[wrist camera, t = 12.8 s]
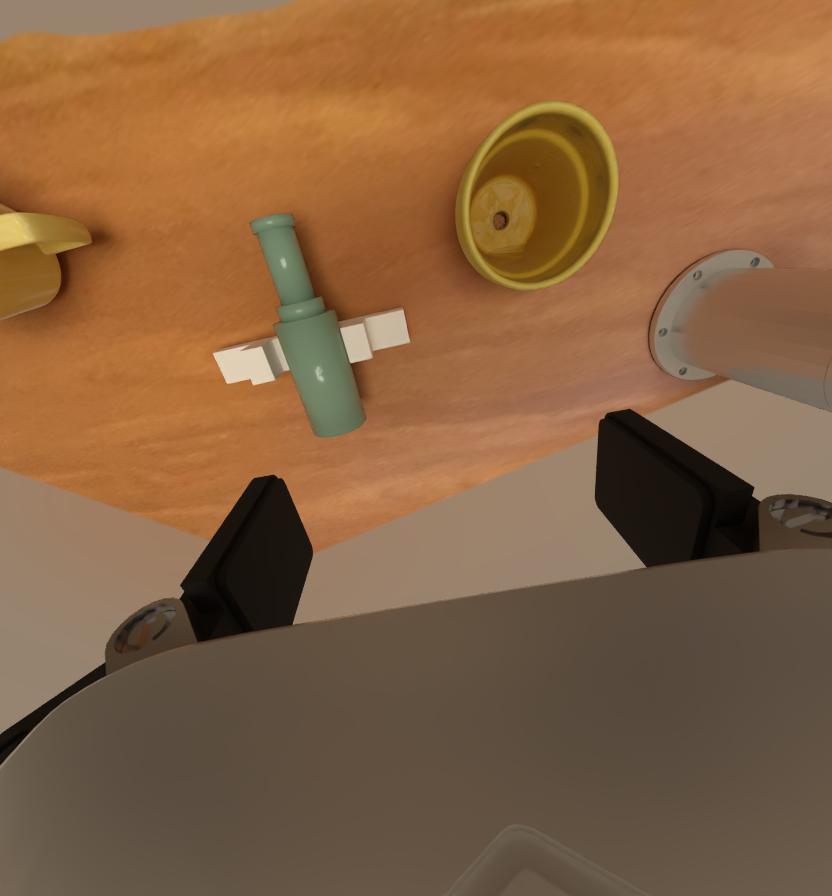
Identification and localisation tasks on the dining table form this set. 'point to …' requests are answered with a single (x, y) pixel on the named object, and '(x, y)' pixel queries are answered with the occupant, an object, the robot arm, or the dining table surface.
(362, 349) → the u rest
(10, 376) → the dining table surface
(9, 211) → the mug
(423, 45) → the dining table surface
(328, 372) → the green bottle
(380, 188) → the dining table surface
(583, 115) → the plant pot
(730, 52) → the dining table surface
